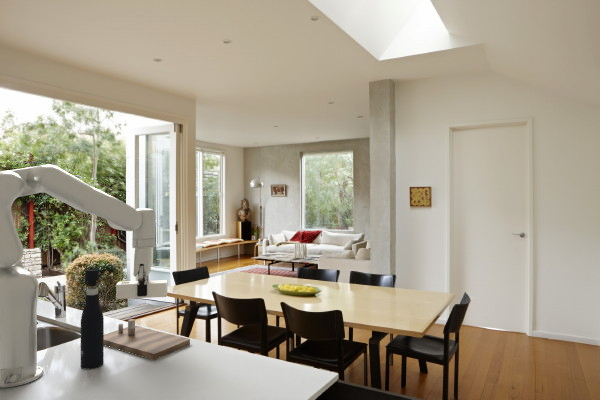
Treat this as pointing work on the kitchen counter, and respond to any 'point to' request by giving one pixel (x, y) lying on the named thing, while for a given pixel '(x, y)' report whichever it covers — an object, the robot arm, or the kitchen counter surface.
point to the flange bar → (130, 289)
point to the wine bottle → (92, 325)
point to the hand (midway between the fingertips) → (143, 293)
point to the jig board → (144, 341)
